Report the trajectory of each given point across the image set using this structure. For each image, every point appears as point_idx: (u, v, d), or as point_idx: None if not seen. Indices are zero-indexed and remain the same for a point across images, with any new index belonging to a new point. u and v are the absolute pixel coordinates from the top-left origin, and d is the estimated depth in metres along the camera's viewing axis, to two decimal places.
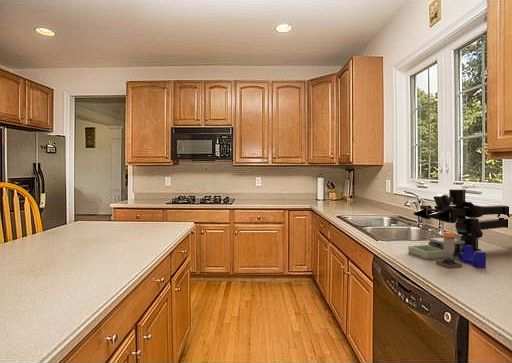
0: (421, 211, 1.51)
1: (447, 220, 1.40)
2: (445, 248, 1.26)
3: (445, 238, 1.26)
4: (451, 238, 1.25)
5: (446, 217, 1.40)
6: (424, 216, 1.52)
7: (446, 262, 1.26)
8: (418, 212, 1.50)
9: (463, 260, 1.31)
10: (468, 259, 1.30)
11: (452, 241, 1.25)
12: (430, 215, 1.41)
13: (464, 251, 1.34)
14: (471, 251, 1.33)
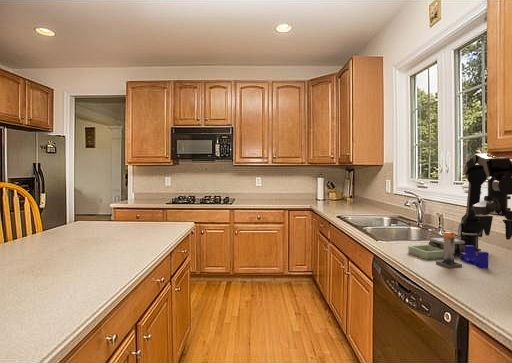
0: (485, 224, 1.22)
1: None
2: (445, 248, 1.26)
3: (445, 238, 1.26)
4: (451, 238, 1.25)
5: None
6: (490, 219, 1.23)
7: (446, 262, 1.26)
8: (486, 229, 1.22)
9: (465, 260, 1.31)
10: (470, 259, 1.30)
11: (452, 241, 1.25)
12: (508, 238, 1.14)
13: (466, 251, 1.34)
14: (473, 251, 1.33)
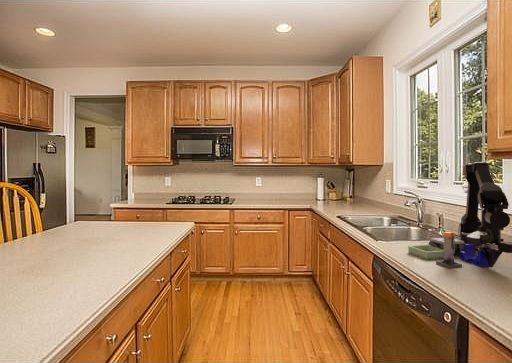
0: (488, 255, 1.21)
1: None
2: (445, 248, 1.26)
3: (445, 238, 1.26)
4: (451, 238, 1.25)
5: (499, 250, 1.19)
6: None
7: (446, 262, 1.26)
8: None
9: (465, 259, 1.32)
10: (470, 258, 1.31)
11: (452, 241, 1.25)
12: (491, 265, 1.21)
13: (465, 250, 1.35)
14: (472, 250, 1.34)
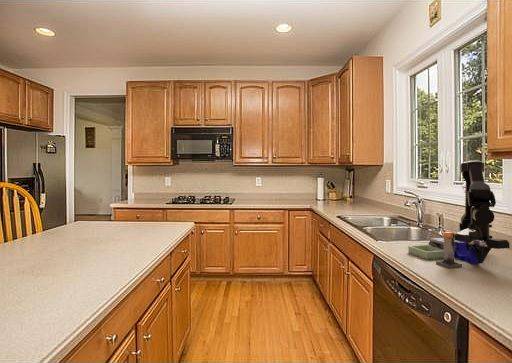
0: None
1: None
2: (445, 248, 1.26)
3: (445, 238, 1.26)
4: (451, 238, 1.25)
5: (488, 247, 1.23)
6: None
7: (446, 262, 1.26)
8: None
9: (457, 256, 1.36)
10: (462, 255, 1.35)
11: (452, 241, 1.25)
12: (481, 262, 1.25)
13: (457, 248, 1.39)
14: (464, 247, 1.38)
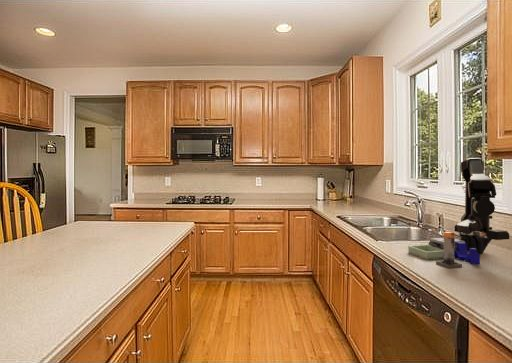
0: (477, 243, 1.25)
1: None
2: (445, 248, 1.26)
3: (445, 238, 1.26)
4: (451, 238, 1.25)
5: (488, 238, 1.23)
6: None
7: (446, 262, 1.26)
8: None
9: (457, 257, 1.36)
10: (462, 256, 1.35)
11: (452, 241, 1.25)
12: (480, 253, 1.25)
13: (458, 248, 1.39)
14: (464, 248, 1.38)
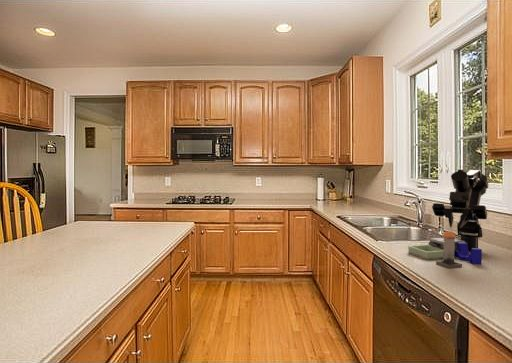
0: (451, 217, 1.35)
1: (471, 218, 1.34)
2: (445, 248, 1.26)
3: (445, 238, 1.26)
4: (451, 238, 1.25)
5: (469, 216, 1.33)
6: (452, 218, 1.38)
7: (446, 262, 1.26)
8: (451, 221, 1.35)
9: (459, 257, 1.36)
10: (463, 256, 1.35)
11: (452, 241, 1.25)
12: (460, 226, 1.32)
13: (459, 248, 1.39)
14: (466, 248, 1.38)
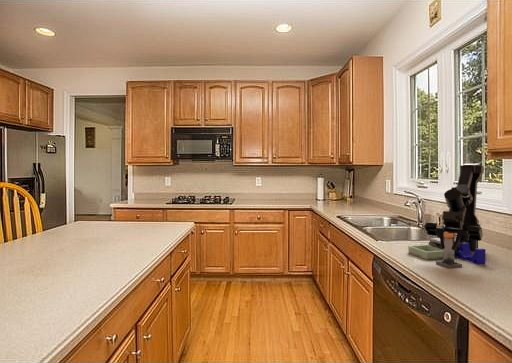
0: (443, 238, 1.29)
1: (466, 239, 1.27)
2: (445, 248, 1.26)
3: (445, 238, 1.26)
4: (451, 238, 1.25)
5: (464, 237, 1.27)
6: None
7: (446, 262, 1.26)
8: (443, 242, 1.28)
9: (461, 257, 1.36)
10: (466, 256, 1.35)
11: (452, 241, 1.25)
12: (454, 248, 1.25)
13: (461, 248, 1.39)
14: (468, 248, 1.38)
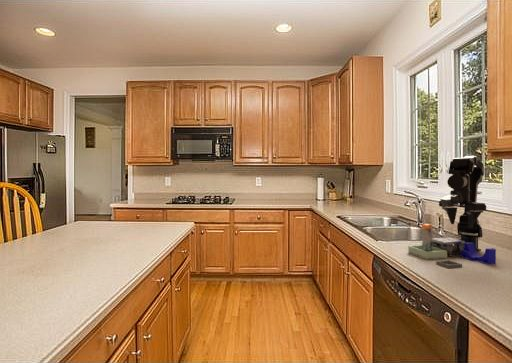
0: (450, 214, 1.43)
1: (481, 212, 1.32)
2: (422, 238, 1.42)
3: (422, 229, 1.42)
4: (426, 229, 1.41)
5: None
6: (455, 210, 1.44)
7: (423, 250, 1.42)
8: (451, 218, 1.43)
9: (469, 257, 1.35)
10: (474, 256, 1.34)
11: (427, 232, 1.41)
12: (470, 226, 1.34)
13: (466, 248, 1.38)
14: (473, 248, 1.38)
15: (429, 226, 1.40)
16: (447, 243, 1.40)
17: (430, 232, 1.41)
